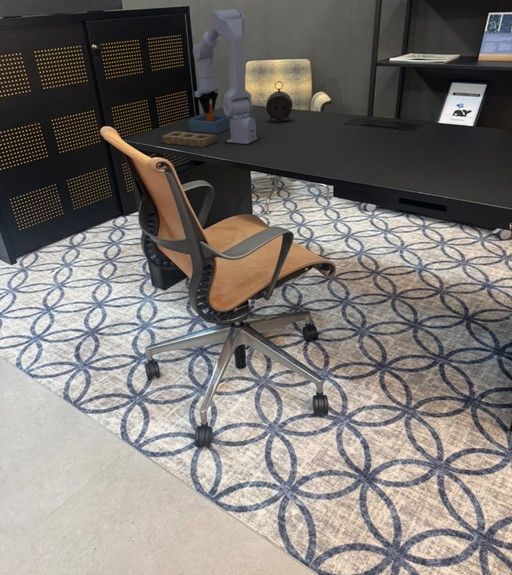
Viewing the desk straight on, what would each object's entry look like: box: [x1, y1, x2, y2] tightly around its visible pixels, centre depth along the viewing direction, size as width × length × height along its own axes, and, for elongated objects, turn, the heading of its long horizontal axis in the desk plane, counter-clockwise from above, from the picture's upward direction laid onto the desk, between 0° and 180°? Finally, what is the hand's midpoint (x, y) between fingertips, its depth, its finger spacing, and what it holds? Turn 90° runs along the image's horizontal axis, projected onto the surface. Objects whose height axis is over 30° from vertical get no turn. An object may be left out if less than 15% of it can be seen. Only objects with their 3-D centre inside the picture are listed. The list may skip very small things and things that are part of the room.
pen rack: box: [161, 130, 217, 148], centre depth 194 cm, size 20×8×3 cm, turn 60°
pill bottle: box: [204, 99, 214, 121], centre depth 207 cm, size 3×3×8 cm
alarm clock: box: [265, 81, 293, 123], centre depth 211 cm, size 11×5×16 cm, turn 84°
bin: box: [188, 113, 230, 135], centre depth 209 cm, size 14×12×5 cm
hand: (209, 112), depth 207 cm, fingers closed on pill bottle, 3 cm apart
